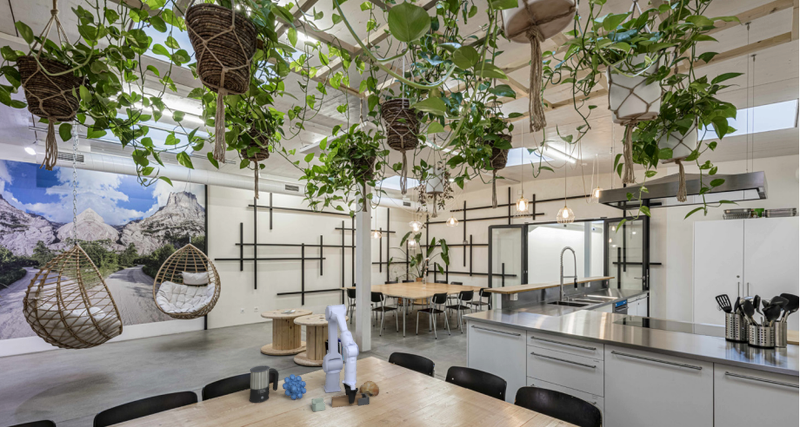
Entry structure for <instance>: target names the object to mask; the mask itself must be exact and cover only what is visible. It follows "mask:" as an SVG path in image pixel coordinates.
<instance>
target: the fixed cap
mask: <svg viewBox="0 0 800 427" xmlns="http://www.w3.org/2000/svg"><path fill="white" fill-rule="evenodd" d="M361 395H362V398H358V405H357V406H358V407H359V406H366V405H368V406H369V405H370V397H369V396H368V395H367V393H361Z"/></svg>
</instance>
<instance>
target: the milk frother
mask: <svg viewBox="0 0 800 427" xmlns="http://www.w3.org/2000/svg"><path fill="white" fill-rule="evenodd" d="M249 372H250V382H249V385H250V387H249V389H250V391H249V399H248V401H249V403H252V404H253V403H254V404H257V403H263V402H265V401H268V400H269V399H270V396H269V394H270V381H271V380H270V379H271V378H270V374H273V375H272V376H273V378H272V379H273V380H272V390H273V391H276V392H277V390H278V388H279V387H278V385H279V378H280V377H279V376H280V374H279V371H278V369H276V368H273V367H270V366H269V365H256V366H253V367H251V368H250V370H249Z"/></svg>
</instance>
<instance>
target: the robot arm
mask: <svg viewBox="0 0 800 427" xmlns="http://www.w3.org/2000/svg"><path fill="white" fill-rule="evenodd" d="M324 310H325V311H324V318H325V321H327V332H328V333H327V335H328V344H327V345H328V353H327V354H325V355H323V358H322V359H323V360H322V370H323V373H325V385H323V389H324V391H325V393H326V394H327V393H334V392H335V393H336V392H341V391H342V389H341V386H340V383H341V384H343V388H344V392H345V395H348V399H349V404H353V403H354V401H355V396H356V394H358V392H359V387H356V384H357V381H358V380H357V365H358V364H357V358H358V356H359V355H360V354H359V353H360V350H359V349H360V348H359V346H358V344H357V343H356V341H354V337H353V334H352V331H350V330H349V328H348V325H347V320H346V316H347V306H346V304H344V303H343V304H332V305H327V306H326V307H325V309H324ZM338 329H339V332H340V334H339V333H338ZM338 336H339V338H340V342H341V344H342V347H343V348H342V354H341V353H339V346H338V345H339V344H338V342H339V340H338V339H339V338H338ZM343 368H344V372H343V374H344V377H343V378H344V379H343V380H341V381H340V379H341V378H340V377H341V375H340V374H341V373H340V372H342V370H343Z"/></svg>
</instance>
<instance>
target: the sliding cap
mask: <svg viewBox="0 0 800 427" xmlns="http://www.w3.org/2000/svg"><path fill="white" fill-rule="evenodd" d="M324 399H325V398H324V397H316V398H312V399H311V409H312V412H319V411H325V410H326V402H324Z"/></svg>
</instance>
